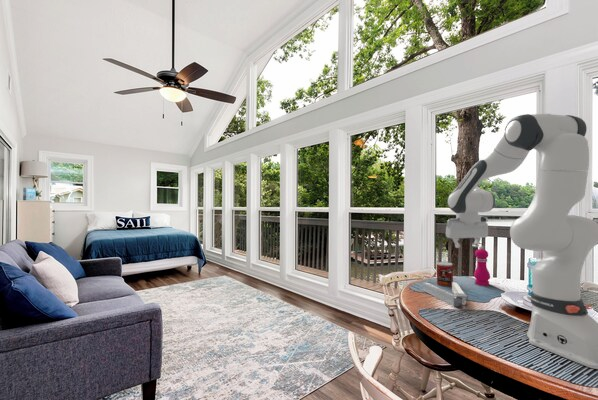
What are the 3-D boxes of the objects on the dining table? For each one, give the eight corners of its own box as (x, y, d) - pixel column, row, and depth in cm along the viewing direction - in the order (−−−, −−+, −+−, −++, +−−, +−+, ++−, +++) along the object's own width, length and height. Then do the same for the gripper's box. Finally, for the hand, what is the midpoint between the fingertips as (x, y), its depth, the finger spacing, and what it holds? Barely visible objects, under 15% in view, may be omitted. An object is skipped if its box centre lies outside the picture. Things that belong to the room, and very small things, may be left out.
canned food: (435, 284, 149) (435, 263, 150) (438, 281, 156) (437, 261, 156) (452, 287, 145) (451, 265, 145) (454, 283, 152) (453, 262, 152)
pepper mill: (477, 285, 147) (477, 247, 147) (471, 282, 154) (471, 245, 154) (493, 286, 146) (492, 247, 146) (486, 282, 153) (485, 245, 153)
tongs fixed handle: (464, 307, 117) (464, 298, 117) (457, 308, 116) (457, 298, 116) (428, 290, 140) (428, 282, 140) (422, 290, 139) (422, 282, 139)
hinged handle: (467, 308, 115) (467, 296, 115) (456, 307, 117) (456, 295, 117) (456, 291, 138) (456, 281, 138) (447, 290, 139) (447, 280, 139)
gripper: (452, 219, 128) (451, 249, 129) (491, 218, 132) (490, 247, 132) (442, 217, 135) (442, 246, 135) (480, 217, 138) (479, 245, 139)
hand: (466, 247), depth 134 cm, fingers open, 8 cm apart
